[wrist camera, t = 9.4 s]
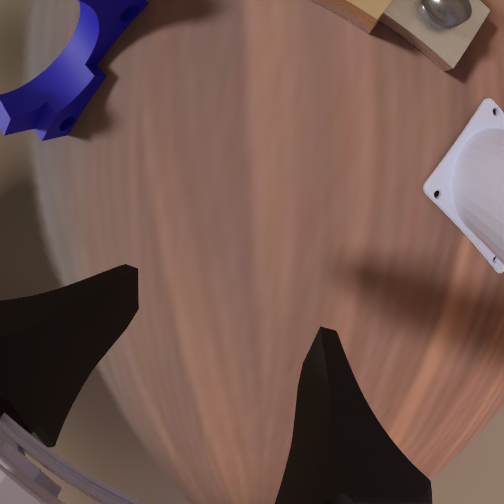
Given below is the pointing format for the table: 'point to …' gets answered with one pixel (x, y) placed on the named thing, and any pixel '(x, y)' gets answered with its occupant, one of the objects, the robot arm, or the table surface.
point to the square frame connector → (419, 23)
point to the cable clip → (69, 73)
